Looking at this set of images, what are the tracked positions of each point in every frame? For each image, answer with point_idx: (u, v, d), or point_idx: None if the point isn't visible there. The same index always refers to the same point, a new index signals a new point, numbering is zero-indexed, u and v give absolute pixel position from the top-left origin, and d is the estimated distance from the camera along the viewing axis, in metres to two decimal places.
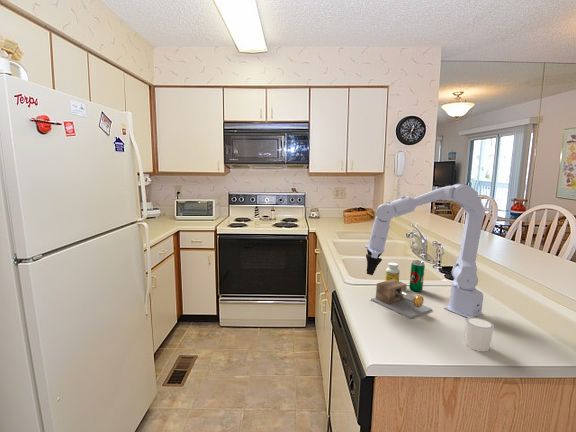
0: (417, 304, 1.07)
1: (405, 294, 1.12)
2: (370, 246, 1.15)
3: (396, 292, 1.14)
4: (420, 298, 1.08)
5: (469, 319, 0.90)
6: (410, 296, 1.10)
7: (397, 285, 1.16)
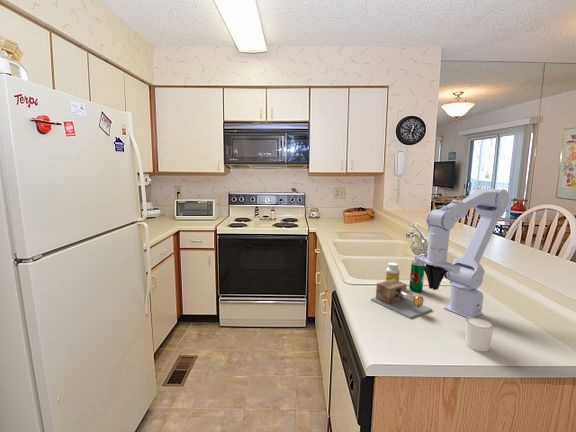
0: (417, 304, 1.07)
1: (405, 294, 1.12)
2: (438, 261, 0.99)
3: (396, 292, 1.14)
4: (420, 298, 1.08)
5: (469, 319, 0.90)
6: (410, 296, 1.10)
7: (397, 285, 1.16)
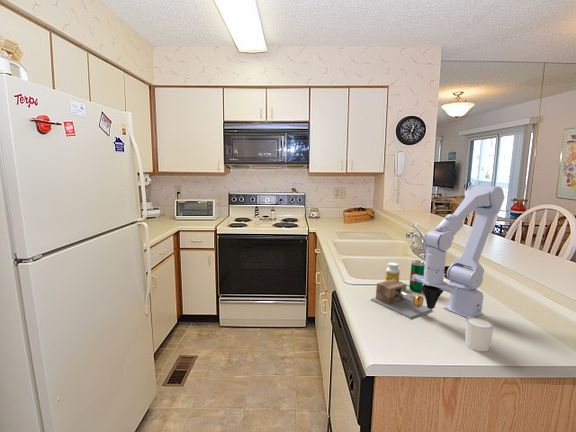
0: (417, 304, 1.07)
1: (405, 294, 1.12)
2: (435, 282, 1.00)
3: (396, 292, 1.14)
4: (420, 298, 1.08)
5: (469, 319, 0.90)
6: (410, 296, 1.10)
7: (397, 285, 1.16)
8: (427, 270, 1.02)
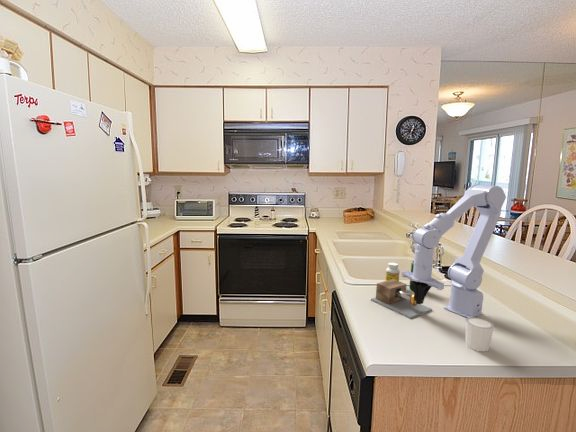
0: (413, 302, 1.08)
1: (401, 293, 1.13)
2: (423, 278, 1.04)
3: None
4: None
5: (469, 319, 0.90)
6: (406, 295, 1.11)
7: (397, 285, 1.16)
8: (416, 266, 1.05)
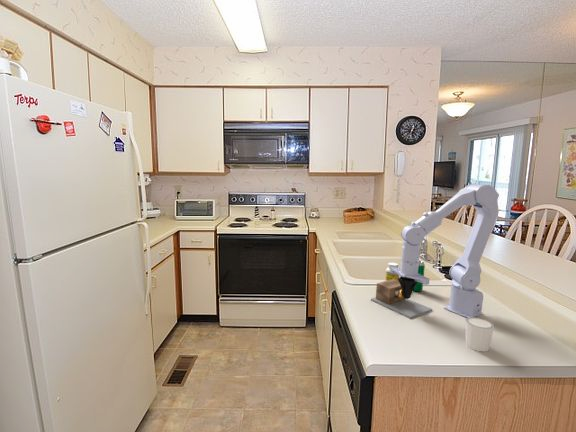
0: (401, 297, 1.13)
1: None
2: (410, 273, 1.08)
3: None
4: None
5: (469, 319, 0.90)
6: None
7: (397, 285, 1.16)
8: (403, 262, 1.09)
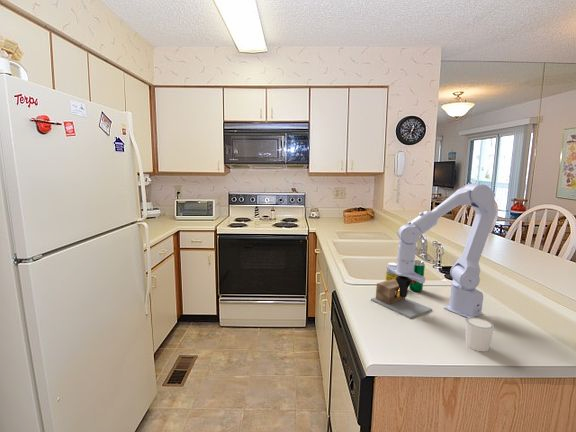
0: (399, 296, 1.13)
1: None
2: (406, 272, 1.09)
3: None
4: None
5: (469, 319, 0.90)
6: None
7: (397, 285, 1.16)
8: (399, 261, 1.11)
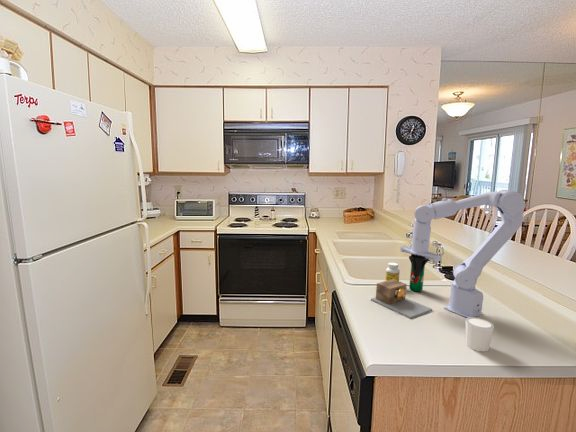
0: (400, 297, 1.13)
1: None
2: (421, 251, 1.11)
3: None
4: (402, 291, 1.13)
5: (469, 319, 0.90)
6: None
7: (397, 285, 1.16)
8: (414, 241, 1.13)
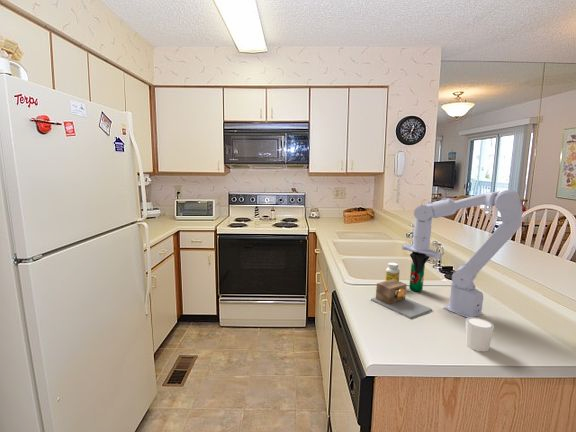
0: (400, 297, 1.13)
1: None
2: (422, 249, 1.15)
3: None
4: (402, 291, 1.13)
5: (469, 319, 0.90)
6: None
7: (397, 285, 1.16)
8: (415, 239, 1.16)
